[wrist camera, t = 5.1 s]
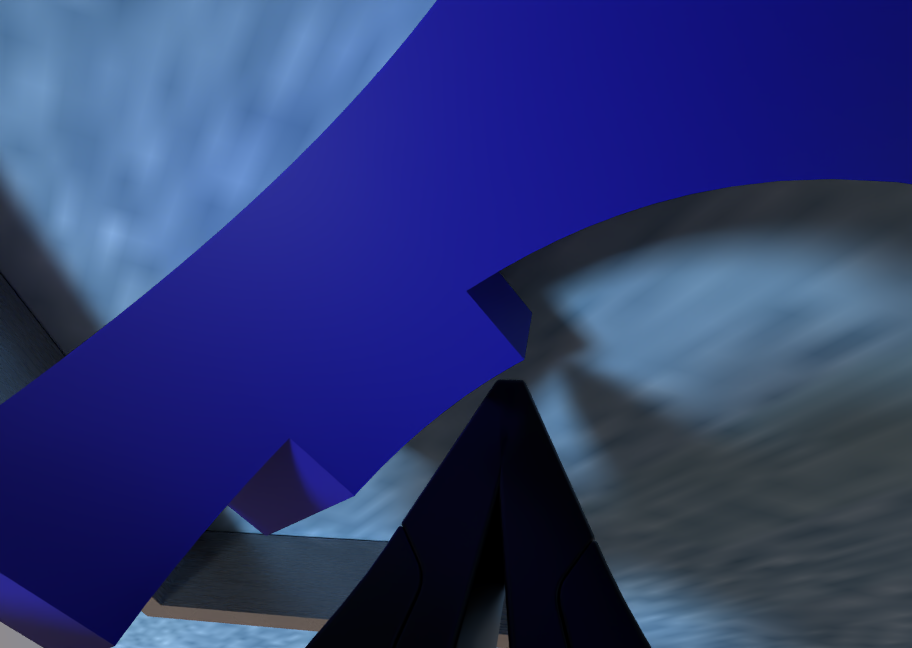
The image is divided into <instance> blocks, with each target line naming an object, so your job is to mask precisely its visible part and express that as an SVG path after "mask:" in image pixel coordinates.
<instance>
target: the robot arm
mask: <svg viewBox="0 0 912 648" xmlns="http://www.w3.org/2000/svg"><path fill="white" fill-rule="evenodd" d="M402 526H403V527H402ZM402 526H399V527H398V529H397V530H396V532H395V533H394V535H393V536H392V538H391V539H390V541H389V542H388V544H387V545H386V547H385V548H384V549H383V551H382V552H381V554H380V555H379V556H378V558H377V559H376V561H375V562H374V563H373V565H372V566H371V568H370V569H369V570H368V572H367V573H366V574H365V576H364V577H363V578H362V579H361V581H360V582H359V583H358V584H357V586H356V587H355V588H354V589H353V591H352V592H351V593H350V594H349V596H348V597H347V598H346V599H345V601H344V602H343V603H342V604H341V606H340V607H339V608H338V609H337V610H336V612H335V613H334V614H333V615H332V616H331V618H330V619H329V620H328V621H327V622H326V623H325V625H324V626H323V627H322V628H321V629H320V631H319V632H318V633H317V634H316V635H315V637H314V638H313V639H312V640H311V641H310V643H309V644H308V645H307V646H306V647H305V648H496V647H497V641H498V634H499V628H500V621H501V615H502V609H503V602H504V596H505V597H506V612H507V626H508V641H509V648H651V646H650V644H649V643H648V641H647V639H646V638H645V636H644V634H643V632H642V630H641V629H640V627H639V625H638V623H637V621H636V620H635V618H634V616H633V614H632V612H631V611H630V609H629V607H628V605H627V604H626V602H625V600H624V598H623V596H622V594H621V592H620V590H619V588H618V586H617V584H616V582H615V580H614V578H613V576H612V573H611V571H610V569H609V567H608V565H607V563H606V561H605V559H604V556H603V554H602V552H601V550H600V547H599V545H598V543H597V542H596V541H594V540H595V537H594V535H593V532H592V530H591V528H590V526H589V524H588V521H587V519H586V517H585V515H584V512H583V510H582V508H581V506H580V503H579V501H578V499H577V497H576V494H575V492H574V490H573V488H572V486H571V483H570V481H569V479H568V477H567V474H566V472H565V470H564V468H563V465H562V463H561V461H560V459H559V456H558V454H557V452H556V450H555V448H554V445H553V443H552V441H551V439H550V436H549V434H548V432H547V430H546V427H545V425H544V423H543V421H542V418H541V416H540V414H539V412H538V410H537V407H536V405H535V403H534V401H533V398H532V396H531V394H530V392H529V389H528V387H527V385H526V383H525V382H524V381H523V380H508V379H500V380H497V381H496V382H495V384H494V385H493V387H492V388H491V390H490V391H489V393H488V394H487V396H486V397H485V399H484V400H483V402H482V403H481V405H480V406H479V408H478V409H477V411H476V412H475V414H474V415H473V417H472V418H471V420H470V421H469V423H468V424H467V426H466V427H465V429H464V430H463V432H462V433H461V435H460V436H459V438H458V439H457V441H456V442H455V444H454V445H453V447H452V448H451V450H450V451H449V453H448V454H447V456H446V457H445V459H444V460H443V462H442V463H441V465H440V466H439V468H438V469H437V471H436V472H435V474H434V475H433V477H432V478H431V480H430V481H429V483H428V484H427V486H426V487H425V489H424V490H423V492H422V493H421V495H420V496H419V497H418V499H417V500H416V502H415V503H414V505H413V506H412V508H411V509H410V511H409V512H408V514H407V515H406V517H405V518H404V520H403V521H402Z"/></svg>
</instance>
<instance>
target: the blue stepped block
mask: <svg viewBox="0 0 912 648" xmlns="http://www.w3.org/2000/svg"><path fill="white" fill-rule="evenodd" d="M817 179H845V180H866V181H886V182H900V183H907V184H912V0H437V1H436V2H435V4H434V5H433V6H432V8H431V9H430V10H429V11H428V13H427V14H426V15H425V16H424V18H423V19H422V20H421V22H420V23H419V24H418V25H417V27H416V28H415V29H414V30H413V32H412V33H411V34H410V35H409V37H408V38H407V39H406V40H405V41H404V43H403V44H402V45H401V46H400V47H399V49H398V50H397V51H396V52H395V53H394V55H393V56H392V57H391V58H390V59H389V61H388V62H387V63H386V64H385V65H384V66H383V68H382V69H381V70H380V71H379V72H378V73H377V74H376V76H375V77H374V78H373V79H372V80H371V81H370V82H369V84H368V85H367V86H366V87H365V88H364V89H363V90H362V91H361V93H360V94H359V95H358V96H357V97H356V98H355V99H354V100H353V101H352V102H351V103H350V104H349V106H348V107H347V108H346V109H345V110H344V111H343V112H342V113H341V114H340V115H339V116H338V117H337V118H336V120H335V121H334V122H333V123H332V124H331V125H330V126H329V127H328V128H327V129H326V130H325V131H324V132H323V133H322V134H321V135H320V136H319V137H318V138H317V139H316V140H315V141H314V142H313V143H312V144H311V145H310V146H309V147H308V148H307V149H306V150H305V151H304V152H303V153H302V154H301V155H300V156H299V157H298V158H297V159H296V160H295V161H294V162H293V163H292V164H291V165H290V166H289V167H288V168H287V169H286V170H285V171H284V172H283V173H282V174H281V175H280V176H279V177H278V178H277V179H276V180H275V181H274V182H272V183H271V184H270V185H269V186H268V187H267V188H266V189H265V190H264V191H263V192H262V193H261V194H260V195H259V196H258V197H256V198H255V199H254V200H253V201H252V202H251V203H250V204H249V205H248V206H247V207H246V208H245V209H243V210H242V211H241V212H240V213H239V214H238V215H237V216H236V217H235V218H233V219H232V220H231V221H230V222H229V223H228V224H227V225H226V226H225V227H223V228H222V229H221V230H220V231H219V232H218V233H217V234H215V235H214V236H213V237H212V238H211V239H210V240H209V241H207V242H206V243H205V244H204V245H203V246H202V247H201V248H199V249H198V250H197V251H196V252H195V253H194V254H192V255H191V256H190V257H189V258H188V259H186V260H185V261H184V262H183V263H182V264H181V265H179V266H178V267H177V268H176V269H175V270H173V271H172V272H171V273H170V274H169V275H167V276H166V277H165V278H164V279H163V280H161V281H160V282H159V283H158V284H157V285H155V286H154V287H153V288H152V289H150V290H149V291H148V292H147V293H146V294H144V295H143V296H142V297H141V298H139V299H138V300H137V301H136V302H134V303H133V304H132V305H131V306H129V307H128V308H127V309H126V310H124V311H123V312H122V313H121V314H119V315H118V316H117V317H116V318H114V319H113V320H112V321H111V322H109V323H108V324H107V325H106V326H104V327H103V328H102V329H100V330H99V331H98V332H97V333H95V334H94V335H93V336H91V337H90V338H89V339H88V340H86V341H85V342H84V343H82V344H81V345H80V346H78V347H77V348H76V349H75V350H73V351H72V352H71V353H69V354H68V355H67V356H65V357H64V358H63V359H61V360H60V361H59V362H57V363H56V364H55V365H54V366H52V367H51V368H50V369H48V370H47V371H46V372H44V373H43V374H41V375H40V376H39V377H37V378H36V379H35V380H33V381H32V382H31V383H29V384H28V385H27V386H25V387H24V388H23V389H21V390H20V391H19V392H17V393H16V394H15V395H13V396H12V397H10V398H9V399H8V400H6V401H5V402H4V403H2V404H1V405H0V622H2V623H4V624H5V625H7V626H9V627H10V628H12V629H14V630H15V631H17V632H19V633H21V634H22V635H24V636H25V637H27V638H28V639H30V640H32V641H33V642H35V643H37V644H38V645H40V646H42V647H43V648H110V647H113V646H115V645H116V644H117V642H118V641H119V640H120V638H121V637H122V636H123V634H124V633H125V632H126V630H127V629H128V628H129V626H130V625H131V624H132V622H133V621H134V620H135V618H136V617H137V616H138V614H139V613H140V612H141V610H142V609H143V608H144V606H145V605H146V604H147V602H148V601H149V600H150V599H151V597H152V596H153V595H154V594H155V592H156V591H157V590H158V588H159V587H160V586H161V585H162V583H163V582H164V581H165V579H166V578H167V577H168V576H169V574H170V573H171V572H172V571H173V569H174V568H175V567H176V566H177V564H178V563H179V562H180V561H181V560H182V558H183V557H184V556H185V555H186V553H187V552H188V551H189V550H190V549H191V547H192V546H193V545H194V544H195V542H196V541H197V540H198V539H199V538H200V536H201V535H202V534H203V533H204V532H205V531H206V529H207V528H208V527H209V526H210V525H211V524H212V522H213V521H214V520H215V519H216V518H217V517H218V515H219V514H220V513H221V512H222V511H223V509H224V508H225V507H226V506H227V505H228V506H229V507H230V508H231V509H233V510H234V511H235V512H236V513H238V514H239V515H240V516H241V517H243V518H244V519H245V520H246V521H248V522H249V523H250V524H251V525H253V526H254V527H255V528H256V529H258V530H259V531H260V532H261V533H263V534H264V535H265V536H267V535H270V534H272V533H274V532H276V531H278V530H280V529H283V528H285V527H287V526H289V525H291V524H294V523H296V522H298V521H300V520H302V519H305V518H307V517H309V516H311V515H313V514H316V513H318V512H320V511H322V510H324V509H327V508H329V507H331V506H333V505H335V504H338V503H340V502H342V501H344V500H346V499H349V498H351V497H353V496H355V495H356V493H357V492H358V491H359V490H360V489H361V488H362V487H363V486H364V485H365V484H366V483H367V482H368V481H369V480H370V479H371V478H372V477H373V475H374V474H375V473H376V472H377V471H378V470H379V469H380V468H381V467H382V466H383V465H384V464H385V463H386V462H387V461H388V460H389V459H390V458H391V457H393V456H394V455H395V454H396V453H397V452H398V451H399V450H400V449H401V448H402V447H403V446H404V445H405V444H406V443H407V442H409V441H410V440H411V439H412V438H413V437H414V436H415V435H416V434H418V433H419V432H420V431H421V430H422V429H423V428H425V427H426V426H427V425H428V424H429V423H431V422H432V421H433V420H434V419H436V418H437V417H438V416H439V415H440V414H442V413H443V412H444V411H446V410H447V409H448V408H450V407H451V406H452V405H454V404H455V403H456V402H458V401H459V400H460V399H462V398H463V397H464V396H466V395H467V394H469V393H470V392H472V391H473V390H475V389H476V388H478V387H479V386H481V385H482V384H484V383H485V382H487V381H488V380H490V379H492V378H493V377H495V376H497V375H498V374H500V373H502V372H503V371H505V370H507V369H508V368H510V367H512V366H514V365H515V364H517V363H519V362H521V361H523V360H524V359H525V353H526V347H527V341H528V335H529V329H530V323H531V317H532V312H531V311H530V310H529V309H528V307H527V306H526V305H525V304H524V302H523V301H522V300H521V299H520V297H519V296H518V295H517V294H516V292H515V291H514V290H513V289H512V288H511V286H510V285H509V284H508V283H507V281H506V280H505V279H504V278H503V276H502V275H501V274H500V273H499V271H500V270H502V269H503V268H505V267H507V266H509V265H511V264H512V263H514V262H516V261H518V260H520V259H522V258H523V257H525V256H527V255H529V254H531V253H533V252H535V251H537V250H539V249H541V248H543V247H545V246H547V245H549V244H551V243H553V242H555V241H557V240H559V239H561V238H564V237H566V236H568V235H570V234H573V233H575V232H577V231H579V230H582V229H584V228H586V227H589V226H591V225H594V224H597V223H599V222H602V221H604V220H607V219H610V218H612V217H615V216H617V215H620V214H623V213H627V212H630V211H633V210H636V209H639V208H642V207H645V206H648V205H651V204H655V203H659V202H663V201H666V200H670V199H674V198H678V197H682V196H686V195H690V194H695V193H700V192H705V191H710V190H716V189H721V188H726V187H731V186H740V185H748V184H757V183H765V182H774V181H790V180H817Z"/></svg>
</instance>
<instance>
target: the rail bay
mask: <svg viewBox="0 0 912 648" xmlns="http://www.w3.org/2000/svg"><path fill="white" fill-rule="evenodd" d="M64 357H65V356H64V355H63V354H62V352H61V351H60V350H59V348H58V347H57V346H56V345H55V343H54V342H53V341H52V339H51V338H50V337H49V336H48V334H47V333H46V332H45V330H44V329H43V328H42V327H41V325H40V324H39V323H38V321H37V320H36V319H35V318H34V316H33V315H32V314H31V313H30V311H29V310H28V309H27V307H26V306H25V305H24V304H23V302H22V301H21V300H20V298H19V297H18V296H17V295H16V293H15V292H14V291H13V289H12V288H11V287H10V286H9V284H8V283H7V282H6V280H5V279H4V278H3V277H2V275H1V274H0V405H1V404H2V403H4V402H5V401H6V400H8V399H9V398H10V397H12V396H13V395H15V394H16V393H17V392H19V391H20V390H21V389H23V388H24V387H25V386H27V385H28V384H29V383H31V382H32V381H33V380H35V379H36V378H37V377H39V376H40V375H41V374H43V373H44V372H46V371H47V370H48V369H50V368H51V367H52V366H54V365H55V364H56V363H57V362H59V361H60V360H61V359H63V358H64ZM387 544H388V542H376V541H359V540H342V539H326V538H309V537H293V536H276V535H267V536H265V535H259V534H243V533H226V532H209V531H205V532H204V533H203V534H202V535H201V536H200V538H199V539H198V540H197V541H196V542H195V544H194V545H193V546H192V547H191V549H190V550H189V551H188V552H187V553H186V555H185V556H184V557H183V558H182V560H181V561H180V562H179V563H178V564H177V566H176V567H175V568H174V569H173V571H172V572H171V573H170V574H169V576H168V577H167V578H166V579H165V581H164V582H163V583H162V585H161V586H160V587H159V588H158V590H157V591H156V592H155V594H154V595H153V596H152V597H151V599H150V600H149V601H148V602H147V604H146V605H145V606H144V608H143V609H142V610H141V611H142V612H143V613H144V614H146V615H147V616H152V617H163V618H174V619H185V620H196V621H207V622H219V623H230V624H241V625H252V626H263V627H274V628H286V629H297V630H308V631H320V629H321V628H322V627H323V626H324V625H325V623H326V622H327V621H328V620H329V619H330V618H331V616H332V615H333V614H334V613H335V612H336V610H337V609H338V608H339V607H340V606H341V604H342V603H343V602H344V601H345V599H346V598H347V597H348V596H349V594H350V593H351V592H352V591H353V589H354V588H355V587H356V586H357V584H358V583H359V582H360V581H361V579H362V578H363V577H364V576H365V574H366V573H367V572H368V570H369V569H370V568H371V566H372V565H373V563H374V562H375V561H376V559H377V558H378V556H379V555H380V554H381V552H382V551H383V549H384V548H385V547H386V545H387ZM497 647H498V648H509V641H508V626H507V612H506V597H505V596H504V602H503V609H502V615H501V621H500V628H499V634H498V641H497Z"/></svg>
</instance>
